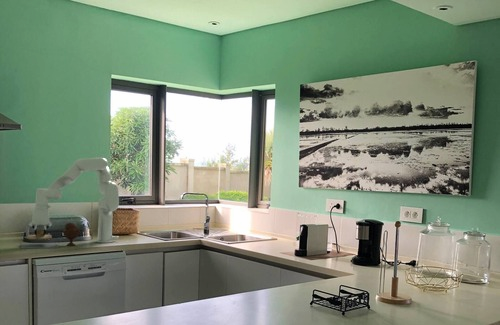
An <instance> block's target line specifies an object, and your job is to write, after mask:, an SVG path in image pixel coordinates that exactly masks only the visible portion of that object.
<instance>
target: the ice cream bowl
mask: <svg viewBox="0 0 500 325" xmlns="http://www.w3.org/2000/svg"><path fill="white" fill-rule="evenodd" d="M64 228H65V230H63V231H62V233H63V236H64V237H65V238H66V239H68V240H69V243H67V244H66V246H67V247H75V246H76V244H75V243H74V242H73V241H74V240H75V239H76V238H78V237H79V236H80V233H81V230H79V227H78V226H77V225H75V224H74V223H73V222H69V223H66V224H65V226H64Z"/></svg>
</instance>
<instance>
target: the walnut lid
mask: <svg viewBox="0 0 500 325" xmlns="http://www.w3.org/2000/svg"><path fill="white" fill-rule="evenodd" d="M43 233H44V228H37V236H36V235H34V234H27V240H52V239H53V237H52V234H46V235H44V236H43Z"/></svg>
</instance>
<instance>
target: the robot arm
mask: <svg viewBox="0 0 500 325" xmlns="http://www.w3.org/2000/svg"><path fill="white" fill-rule="evenodd" d="M94 171H95V172H96V173H97V176H98V190H99V193H100V194H102V195H104V196H103V197H100V198H99V200H98V203H97V208H98V222H97V223H98V225H97V239H94V241H95V242H96V243H103V244H105V243H108V244H109V243H114V241H115V240H119V235H113V219H114V218H113V216H114V215H113V213H114V212H115V211H116V210H117V209H118V208H119V205H120V196H119V187H118V185H117V183H116V182H113V181H112V175H111V174H112V173H111V171H110V168H109V162H108V160H107V159H106V158H104V157H98V156H97V157H92V158H78V159H76V160H75V161H74V162H73V163H72V164H71V165H70V166H69V167H68V169H66V171H65V172H64V173H63V174H62V175H60V176H58V177H57V178H56V179H55V180H54V181H53V182H52V183H50V184H49V186H48V187H47V188H45V187H44V188H43V187H41V188H39V187H38V188H36V189H35V190H36V191H35V207H34V209H33V212H32V220H31V221H30V222H29V223H28V226H30V227H31V228H32V229H33V230H34V234H33V235H36V236H37V229H38V226H43V229H44V233H43V236H44V235H47V234H46V233H47V232H46V231H47V230H48V228H49V227H51V226H53V223H52V222H51V221H50V210H49V209H50V208H51V205H49V200H52V201H58V200H60V199H61V198H62V197H63V191H62V189H64V188H65V187H67V186H69V185H71V184H73V183H74V182H75V181H76V180H77V179H78V178H79V177H80V176H81V175H82V174H83V172H94Z"/></svg>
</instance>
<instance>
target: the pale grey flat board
mask: <svg viewBox="0 0 500 325" xmlns="http://www.w3.org/2000/svg"><path fill="white" fill-rule="evenodd" d="M59 248H60V247H59V243H58V242H34V243H33V242H30V243H29V242H27V243H25V242H22V243H21V244H20V249H21V250H22V249H25V250H26V249H27V250H28V249H59Z"/></svg>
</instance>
